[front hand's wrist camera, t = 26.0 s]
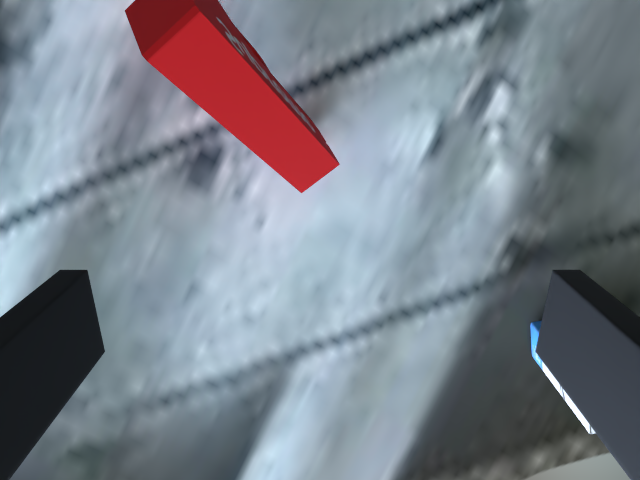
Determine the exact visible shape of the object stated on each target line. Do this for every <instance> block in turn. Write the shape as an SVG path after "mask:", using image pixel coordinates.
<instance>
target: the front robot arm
mask: <svg viewBox="0 0 640 480" xmlns="http://www.w3.org/2000/svg"><path fill="white" fill-rule="evenodd" d="M104 352H105V350H104V345H103V341H102V336H101V331H100V327H99V322H98V317H97V313H96V308H95V303H94V299H93V294H92V289H91V285H90V280H89V276H88V271H87V270H59V271H58V272H57V273H56V274H54V275H53V276H52V277H51V278H49V279H48V280H47V281H46V282H44V283H43V284H42V285H41V286H39V287H38V288H37V289H35V290H34V291H33V292H32V293H30V294H29V295H28V296H27V297H25V298H24V299H23V300H22V301H20V302H19V303H18V304H17V305H15V306H14V307H13V308H12V309H10V310H9V311H8V312H6V313H5V314H4V315H3V316H1V317H0V480H9V479H10V478H11V477H12V475H13V474H14V473H15V471H16V470H17V469H18V467H19V466H20V465H21V463H22V462H23V461H24V459H25V458H26V457H27V455H28V454H29V453H30V451H31V450H32V448H33V447H34V446H35V444H36V443H37V442H38V440H39V439H40V438H41V436H42V435H43V434H44V432H45V431H46V430H47V428H48V427H49V426H50V424H51V423H52V422H53V420H54V419H55V418H56V416H57V415H58V414H59V412H60V411H61V410H62V408H63V407H64V406H65V404H66V403H67V402H68V400H69V399H70V398H71V396H72V395H73V394H74V392H75V391H76V390H77V388H78V387H79V386H80V384H81V383H82V382H83V380H84V379H85V378H86V376H87V375H88V374H89V372H90V371H91V370H92V368H93V367H94V366H95V364H96V363H97V362H98V360H99V359H100V357H101V356H102V355H103V353H104ZM535 352H536V353H537V355H538V356H539V358H540V359H541V360H542V362H543V363H544V364H545V366H546V367H547V368H548V370H549V371H550V372H551V374H552V375H553V376H554V378H555V379H556V380H557V382H558V383H559V384H560V386H561V387H562V388H563V390H564V391H565V392H566V394H567V395H568V396H569V398H570V399H571V400H572V402H573V403H574V404H575V406H576V407H577V408H578V410H579V411H580V412H581V414H582V415H583V416H584V418H585V419H586V420H587V422H588V423H589V424H590V426H591V427H592V428H593V430H594V431H595V432H596V434H597V435H598V436H599V438H600V439H601V440H602V442H603V443H604V444H605V446H606V447H607V449H608V450H609V451H610V453H611V454H612V455H613V457H614V458H615V459H616V460H617V462H618V463H619V465H620V466H621V467H622V469H623V470H624V471H625V473H626V474H627V475H628V477H629V478H630V479H631V480H640V317H639V316H637V315H636V314H635V313H634V312H632V311H631V310H630V309H628V308H627V307H626V306H625V305H623V304H622V303H621V302H620V301H618V300H617V299H616V298H615V297H613V296H612V295H611V294H610V293H608V292H607V291H606V290H605V289H603V288H602V287H601V286H599V285H598V284H597V283H596V282H594V281H593V280H592V279H591V278H589V277H588V276H587V275H586V274H584V273H583V272H582V271H581V270H553V271H552V276H551V280H550V285H549V289H548V294H547V299H546V303H545V308H544V313H543V317H542V322H541V327H540V331H539V336H538V341H537V345H536V350H535Z"/></svg>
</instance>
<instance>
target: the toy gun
mask: <svg viewBox="0 0 640 480" xmlns="http://www.w3.org/2000/svg"><path fill="white" fill-rule="evenodd" d="M125 12H126V15H127V18H128V20H129V23H130V25H131V28H132V31H133V33H134V36H135V38H136V41H137V44H138V46H139V49H140V51H141V54H142V56H143V57H144V58H145V59H146V60H147V61H148V62H149V63H150V64H151V65H152V66H153V67H155V68H156V69H157V70H158V71H159V72H160V73H162V74H163V75H164V76H165V77H166V78H167V79H169V80H170V81H171V82H172V83H173V84H174V85H176V86H177V87H178V88H179V89H180V90H181V91H183V92H184V93H185V94H186V95H187V96H188V97H190V98H191V99H192V100H193V101H194V102H195V103H197V104H198V105H199V106H200V107H201V108H203V109H204V110H205V111H206V112H207V113H208V114H210V115H211V116H212V117H213V118H214V119H215V120H217V121H218V122H219V123H220V124H221V125H222V126H224V127H225V128H226V129H227V130H228V131H229V132H231V133H232V134H233V135H234V136H235V137H236V138H238V139H239V140H240V141H241V142H242V143H243V144H245V145H246V146H247V147H248V148H249V149H250V150H252V151H253V152H254V153H255V154H256V155H257V156H259V157H260V158H261V159H262V160H263V161H264V162H266V163H267V164H268V165H269V166H270V167H272V168H273V169H274V170H275V171H276V172H277V173H279V174H280V175H281V176H282V177H283V178H284V179H286V180H287V181H288V182H289V183H290V184H291V185H293V186H294V187H295V188H296V189H297V190H298V191H300V192H301V193H302V192H304V191H305V190H306V189H308V188H309V187H310V186H312V185H313V184H314V183H316V182H317V181H318V180H320V179H321V178H322V177H324V176H325V175H326V174H328V173H329V172H330V171H332V170H333V169H334V168H336V167H337V166H338V165H339V162H338V161H337V159H336V157H335V156H334V154H333V152H332V151H331V149H330V148H329V146H328V145H327V144H326V141H325V139H324V138H323V136H322V135H321V133H320V131H319V130H318V128H317V127H316V126H315V124H314V123H313V122H312V120H311V119H310V118H309V117H308V116H307V114H306V113H305V112H304V111H303V110H302V109H301V107H300V106H299V105H298V104H297V103H296V102H295V101H294V99H293V98H292V97H291V96H290V95H289V94H288V92H287V91H286V90H285V89H284V88H283V87H282V85H281V84H280V83H279V82H278V81H277V80H276V79H275V77H274V76H273V75H272V74H271V73H270V71H269V69H268V68H267V66H266V64H265V63H264V61H263V59H262V58H261V57H260V55H259V54H258V53H257V51H256V50H255V49H254V48H253V47H252V45H251V44H250V43H249V42H248V41H247V40H246V38H245V37H244V36H243V35H242V34H241V33H240V31H239V30H238V29H237V28H236V27H235V26H234V24H233V23H232V21H231V20H230V18H229V17H228V15H227V14H226V12H225V11H224V9H223V8H222V6H221V5H220V3H219V2H218V0H135V1H134V2H133V3H132V4H131V5H130V6H129V7H128V8H127V9H126V10H125Z"/></svg>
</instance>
